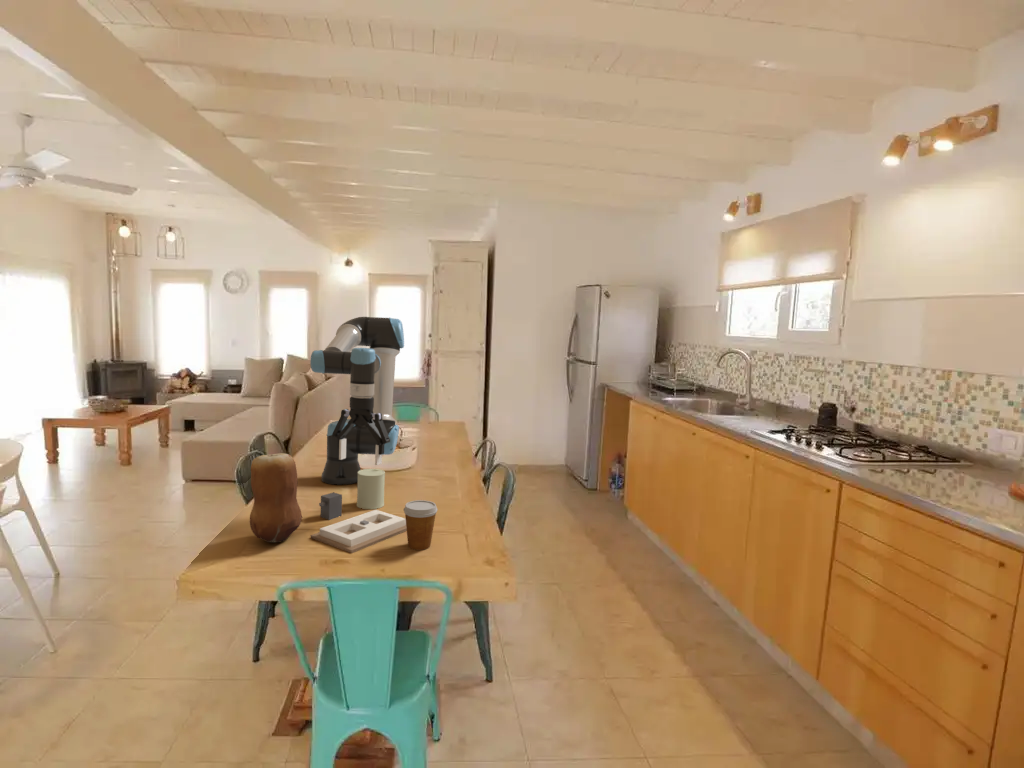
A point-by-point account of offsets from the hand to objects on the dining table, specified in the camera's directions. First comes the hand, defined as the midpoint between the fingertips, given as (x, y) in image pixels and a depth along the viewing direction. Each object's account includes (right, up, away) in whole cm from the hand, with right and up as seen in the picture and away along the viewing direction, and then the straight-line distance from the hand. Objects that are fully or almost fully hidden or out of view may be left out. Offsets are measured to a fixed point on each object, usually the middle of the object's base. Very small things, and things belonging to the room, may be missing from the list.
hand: (360, 461), depth 187 cm
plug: (-9, -17, -3) cm, 19 cm away
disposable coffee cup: (+23, -21, -22) cm, 38 cm away
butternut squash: (-18, -19, -24) cm, 35 cm away
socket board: (+5, -19, -15) cm, 25 cm away
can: (+1, -16, +10) cm, 19 cm away
